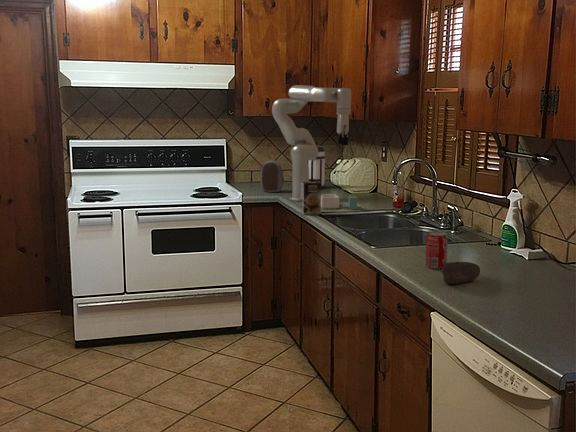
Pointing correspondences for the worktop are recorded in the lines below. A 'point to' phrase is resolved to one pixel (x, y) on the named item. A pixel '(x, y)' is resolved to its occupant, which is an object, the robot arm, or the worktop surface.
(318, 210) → the coffee box
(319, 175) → the coffee press
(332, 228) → the worktop surface
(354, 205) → the lid
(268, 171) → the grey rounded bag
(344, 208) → the mat
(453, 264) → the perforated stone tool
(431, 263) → the soda can
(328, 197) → the tub
